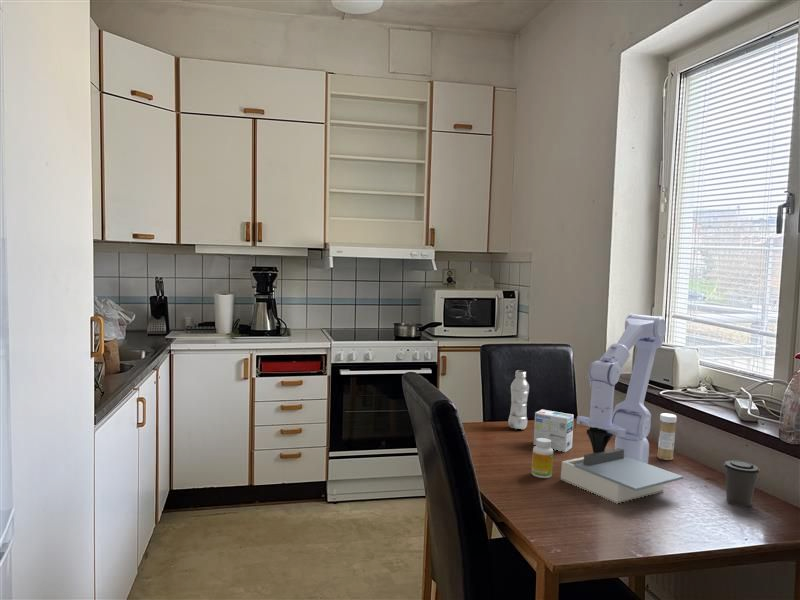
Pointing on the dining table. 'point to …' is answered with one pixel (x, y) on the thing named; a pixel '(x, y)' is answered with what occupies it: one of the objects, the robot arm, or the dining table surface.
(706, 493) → the dining table surface
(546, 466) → the supplement bottle
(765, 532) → the dining table surface
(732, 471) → the coffee cup
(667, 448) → the sprinkles bottle
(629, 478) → the lid
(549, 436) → the light bulb box
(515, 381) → the plastic bottle
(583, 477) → the white square shallow box
